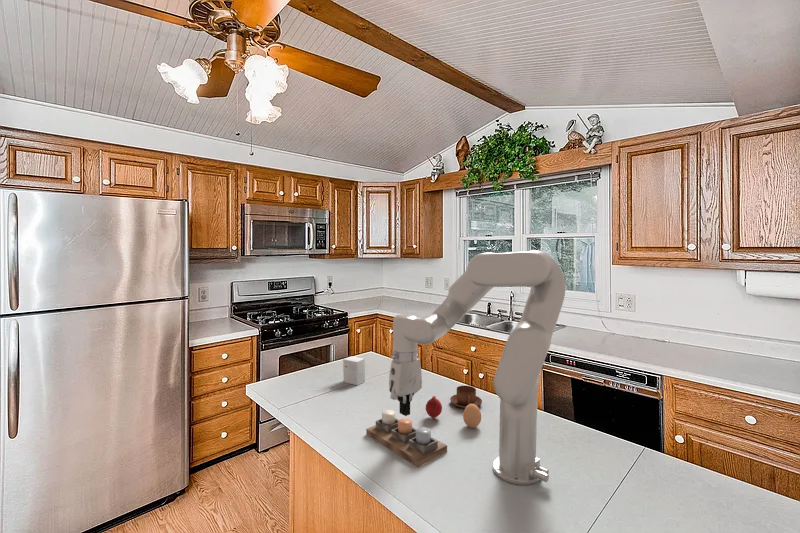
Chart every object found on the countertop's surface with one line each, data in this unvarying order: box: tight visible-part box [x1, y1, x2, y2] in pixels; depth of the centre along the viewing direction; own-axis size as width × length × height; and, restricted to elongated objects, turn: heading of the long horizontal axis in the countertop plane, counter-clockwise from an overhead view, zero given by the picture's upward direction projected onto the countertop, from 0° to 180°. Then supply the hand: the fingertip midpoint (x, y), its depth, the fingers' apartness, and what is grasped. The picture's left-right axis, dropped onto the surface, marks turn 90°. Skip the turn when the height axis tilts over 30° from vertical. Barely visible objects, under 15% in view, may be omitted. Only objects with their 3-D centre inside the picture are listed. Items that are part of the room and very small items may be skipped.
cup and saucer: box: [450, 385, 483, 409], centre depth 149 cm, size 12×12×6 cm
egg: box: [462, 404, 482, 429], centre depth 130 cm, size 6×6×8 cm
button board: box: [365, 417, 448, 468], centre depth 120 cm, size 24×12×4 cm, turn 41°
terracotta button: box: [398, 417, 413, 435], centre depth 120 cm, size 4×4×3 cm
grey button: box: [415, 427, 432, 445], centre depth 113 cm, size 4×4×3 cm
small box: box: [342, 355, 366, 386], centre depth 172 cm, size 8×6×10 cm
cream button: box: [381, 409, 396, 425], centre depth 126 cm, size 4×4×3 cm
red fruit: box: [425, 395, 443, 419], centre depth 137 cm, size 6×6×8 cm
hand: (404, 413), depth 119 cm, fingers closed
